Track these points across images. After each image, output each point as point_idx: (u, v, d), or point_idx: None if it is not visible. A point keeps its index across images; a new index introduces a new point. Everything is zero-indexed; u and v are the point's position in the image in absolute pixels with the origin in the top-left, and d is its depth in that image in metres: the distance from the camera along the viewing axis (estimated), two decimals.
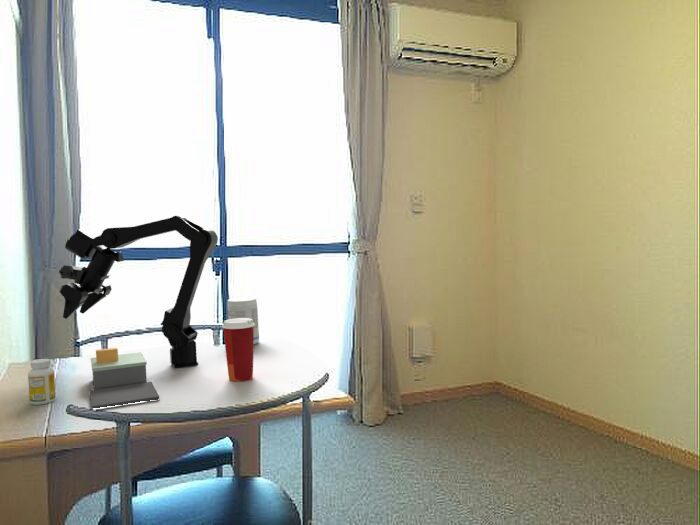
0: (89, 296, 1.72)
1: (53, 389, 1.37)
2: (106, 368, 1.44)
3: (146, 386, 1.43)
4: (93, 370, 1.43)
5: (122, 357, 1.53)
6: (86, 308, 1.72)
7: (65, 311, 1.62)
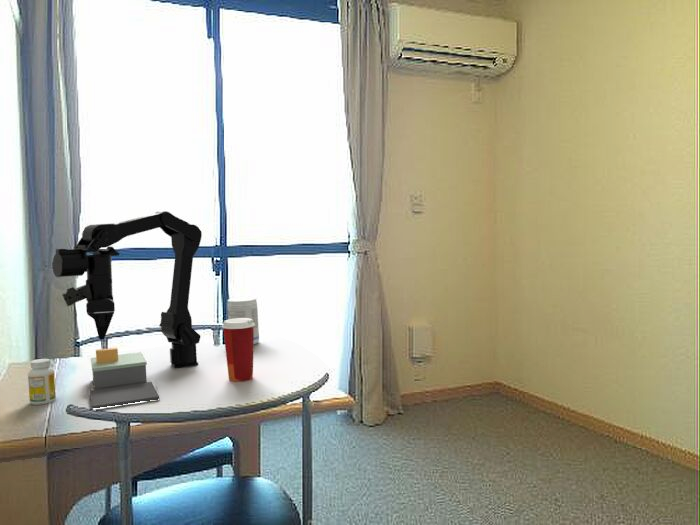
0: None
1: (53, 389, 1.37)
2: (106, 368, 1.44)
3: (146, 386, 1.43)
4: (93, 370, 1.43)
5: (122, 357, 1.53)
6: None
7: (99, 332, 1.44)
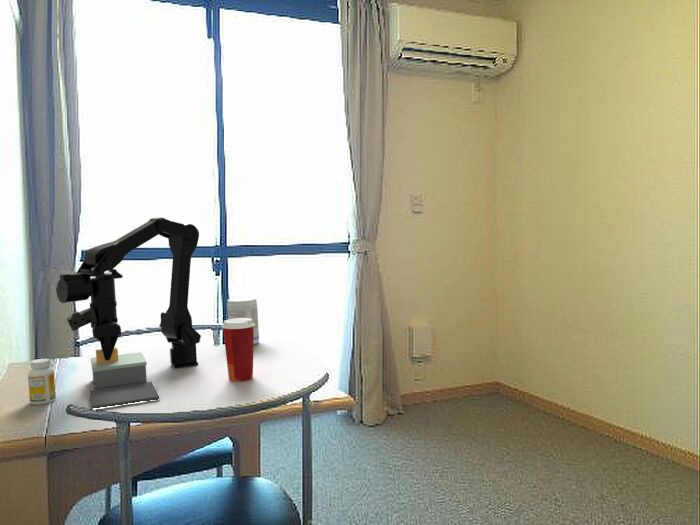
0: None
1: (53, 389, 1.37)
2: (106, 368, 1.44)
3: (146, 386, 1.43)
4: (93, 370, 1.43)
5: (122, 357, 1.53)
6: None
7: (105, 353, 1.48)
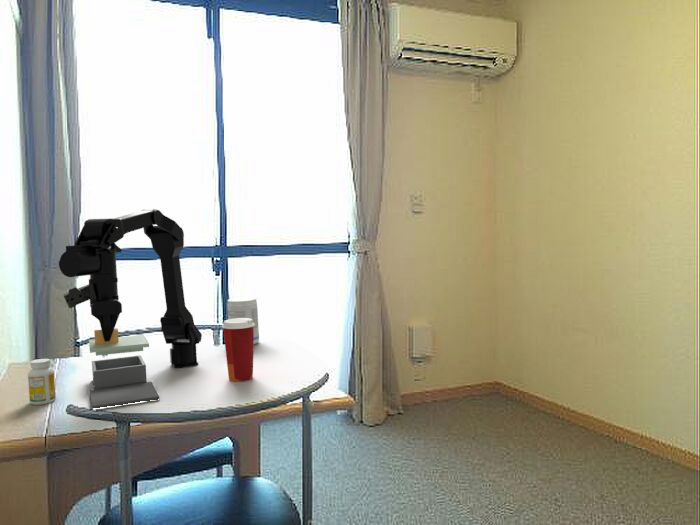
0: None
1: (53, 389, 1.37)
2: (105, 349, 1.32)
3: (146, 386, 1.43)
4: (91, 351, 1.31)
5: (123, 339, 1.41)
6: None
7: (105, 333, 1.36)
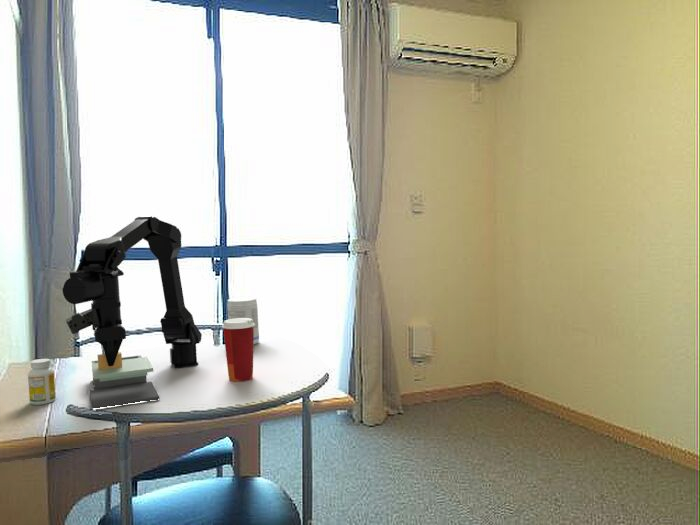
0: None
1: (53, 389, 1.37)
2: (109, 375, 1.31)
3: (146, 386, 1.43)
4: (95, 377, 1.29)
5: (126, 362, 1.40)
6: None
7: (108, 358, 1.34)
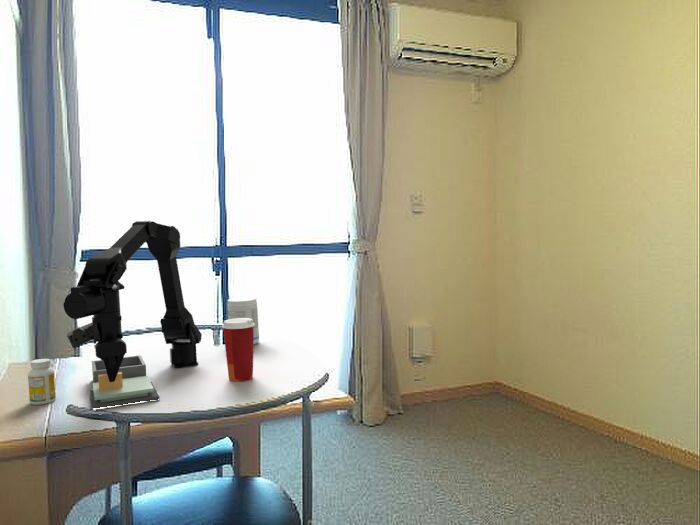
0: None
1: (53, 389, 1.37)
2: (110, 396, 1.31)
3: None
4: (95, 398, 1.30)
5: (127, 382, 1.40)
6: None
7: (109, 374, 1.33)
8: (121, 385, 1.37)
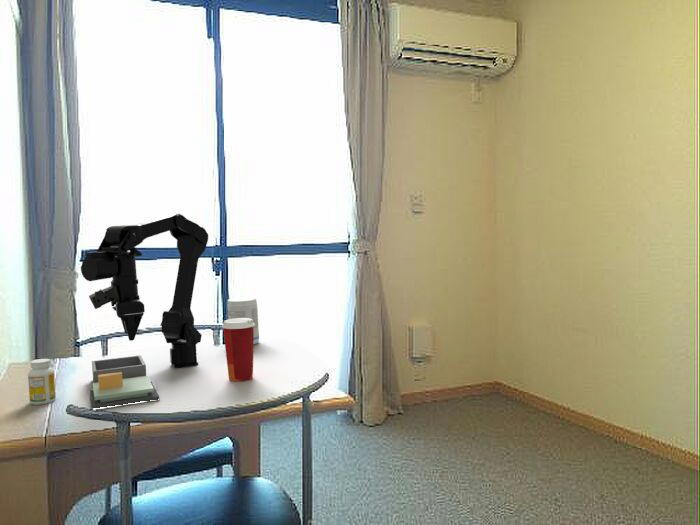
0: None
1: (53, 389, 1.37)
2: (110, 396, 1.31)
3: None
4: (95, 398, 1.30)
5: (127, 382, 1.40)
6: None
7: (129, 333, 1.45)
8: (121, 385, 1.37)
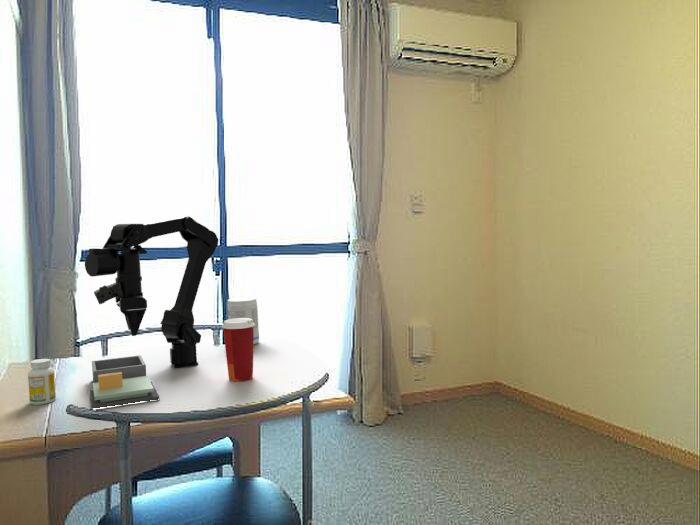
0: None
1: (53, 389, 1.37)
2: (110, 396, 1.31)
3: None
4: (95, 398, 1.30)
5: (127, 382, 1.40)
6: None
7: (132, 328, 1.48)
8: (121, 385, 1.37)
